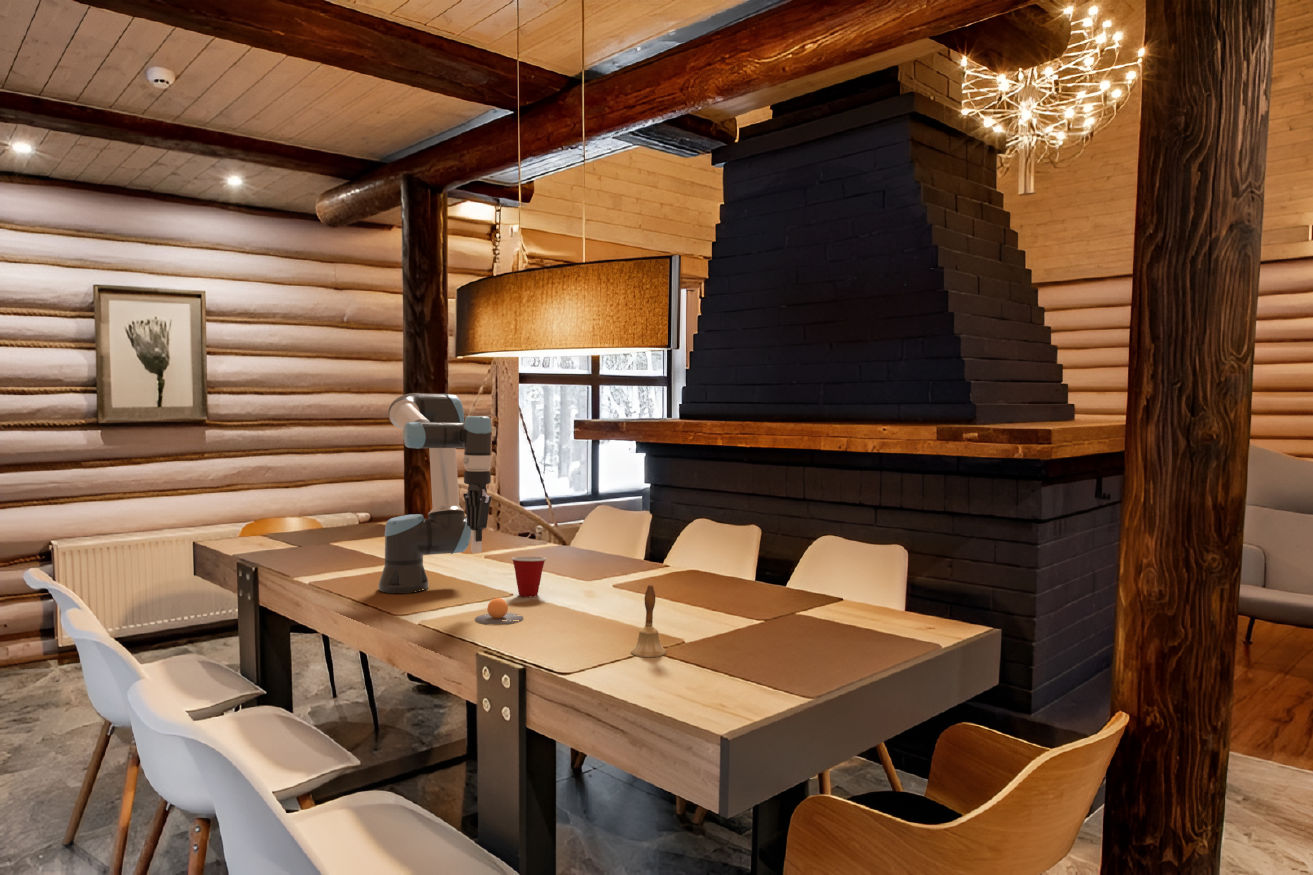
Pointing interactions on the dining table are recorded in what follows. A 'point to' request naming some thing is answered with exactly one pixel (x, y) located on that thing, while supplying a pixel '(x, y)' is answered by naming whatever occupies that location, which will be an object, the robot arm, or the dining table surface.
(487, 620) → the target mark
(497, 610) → the ball
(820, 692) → the dining table surface
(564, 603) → the dining table surface
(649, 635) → the hand bell
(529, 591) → the plastic cup
